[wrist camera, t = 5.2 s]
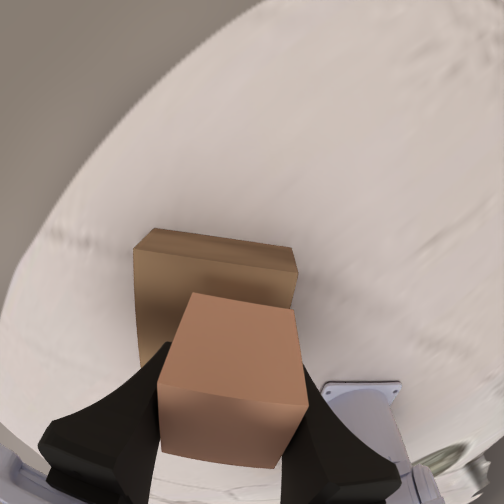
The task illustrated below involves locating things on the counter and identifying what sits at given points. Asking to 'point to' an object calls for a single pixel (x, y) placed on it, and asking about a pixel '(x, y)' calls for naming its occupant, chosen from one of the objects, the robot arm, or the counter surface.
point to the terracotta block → (232, 383)
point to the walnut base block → (202, 279)
